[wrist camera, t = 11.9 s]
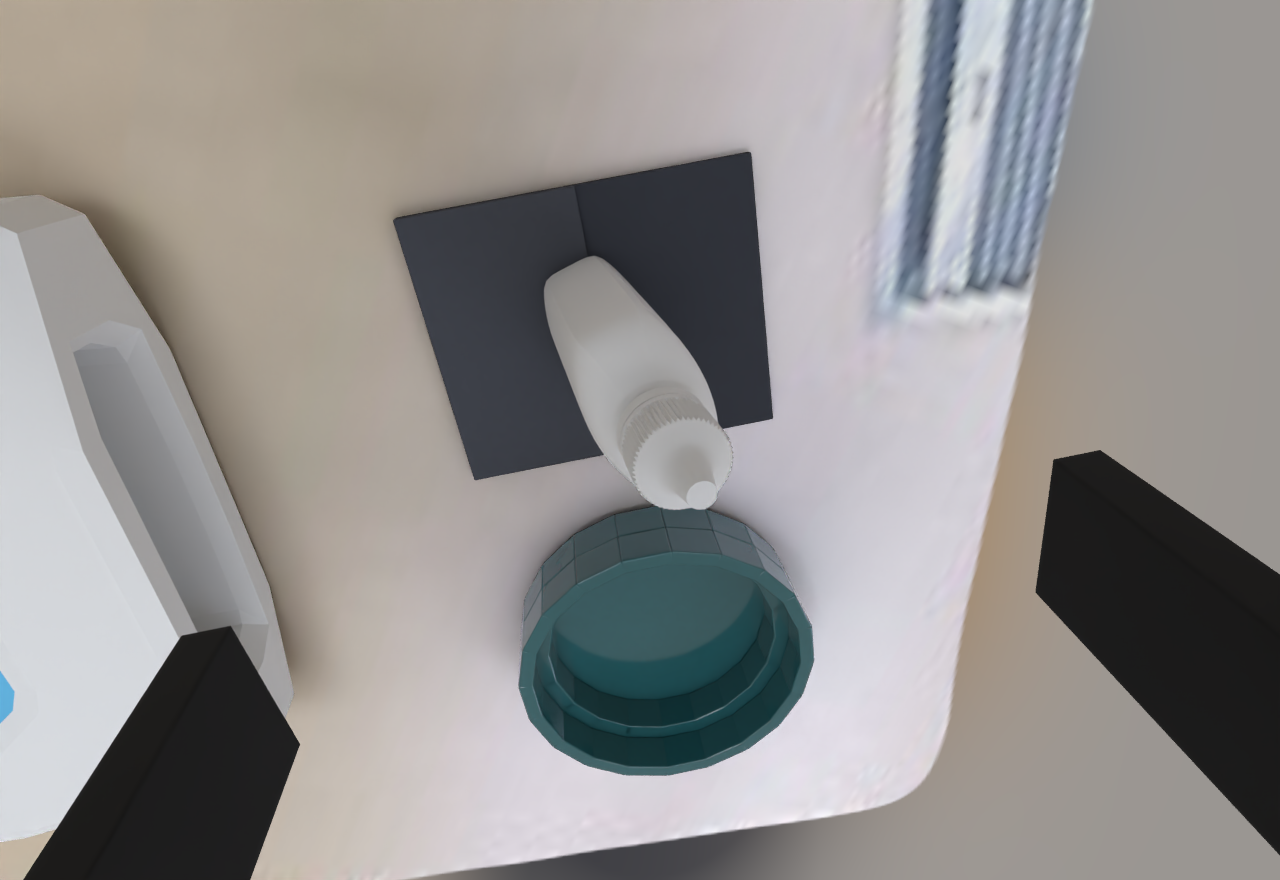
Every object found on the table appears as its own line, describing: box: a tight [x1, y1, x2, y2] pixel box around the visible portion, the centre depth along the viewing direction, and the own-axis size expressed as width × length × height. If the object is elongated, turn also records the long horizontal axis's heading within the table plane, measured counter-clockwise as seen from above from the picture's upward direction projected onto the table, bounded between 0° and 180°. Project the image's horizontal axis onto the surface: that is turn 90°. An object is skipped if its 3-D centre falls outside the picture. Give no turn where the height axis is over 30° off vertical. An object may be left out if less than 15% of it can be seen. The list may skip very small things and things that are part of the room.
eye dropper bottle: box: [544, 256, 733, 510], centre depth 20 cm, size 4×6×12 cm
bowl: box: [518, 506, 814, 776], centre depth 31 cm, size 12×12×4 cm
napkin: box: [393, 152, 773, 480], centre depth 26 cm, size 10×12×1 cm
